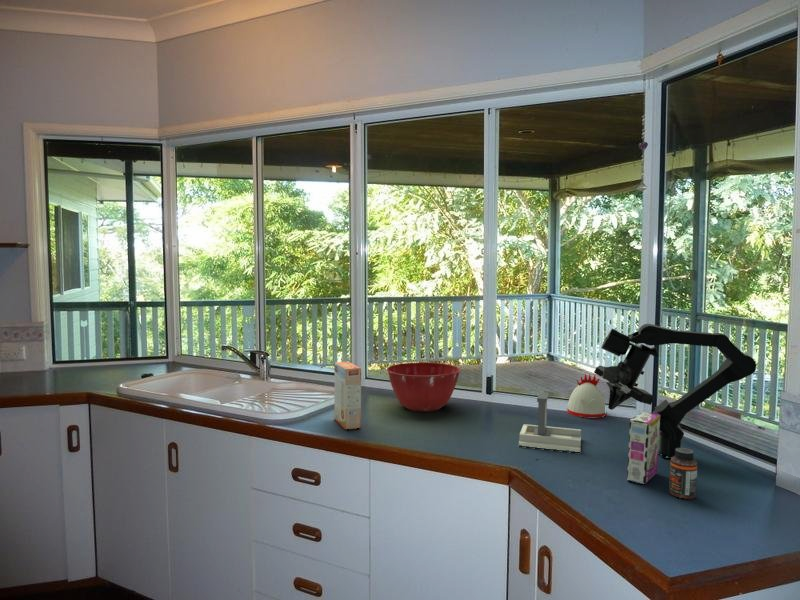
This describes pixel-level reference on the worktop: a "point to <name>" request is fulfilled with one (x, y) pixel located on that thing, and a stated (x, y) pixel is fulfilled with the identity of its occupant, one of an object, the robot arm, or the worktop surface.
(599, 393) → the kitchen timer
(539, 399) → the slide lever
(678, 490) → the supplement bottle
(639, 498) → the worktop surface
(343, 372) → the cracker box
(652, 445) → the candy bar box
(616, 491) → the worktop surface
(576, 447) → the tray
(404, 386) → the mixing bowl
